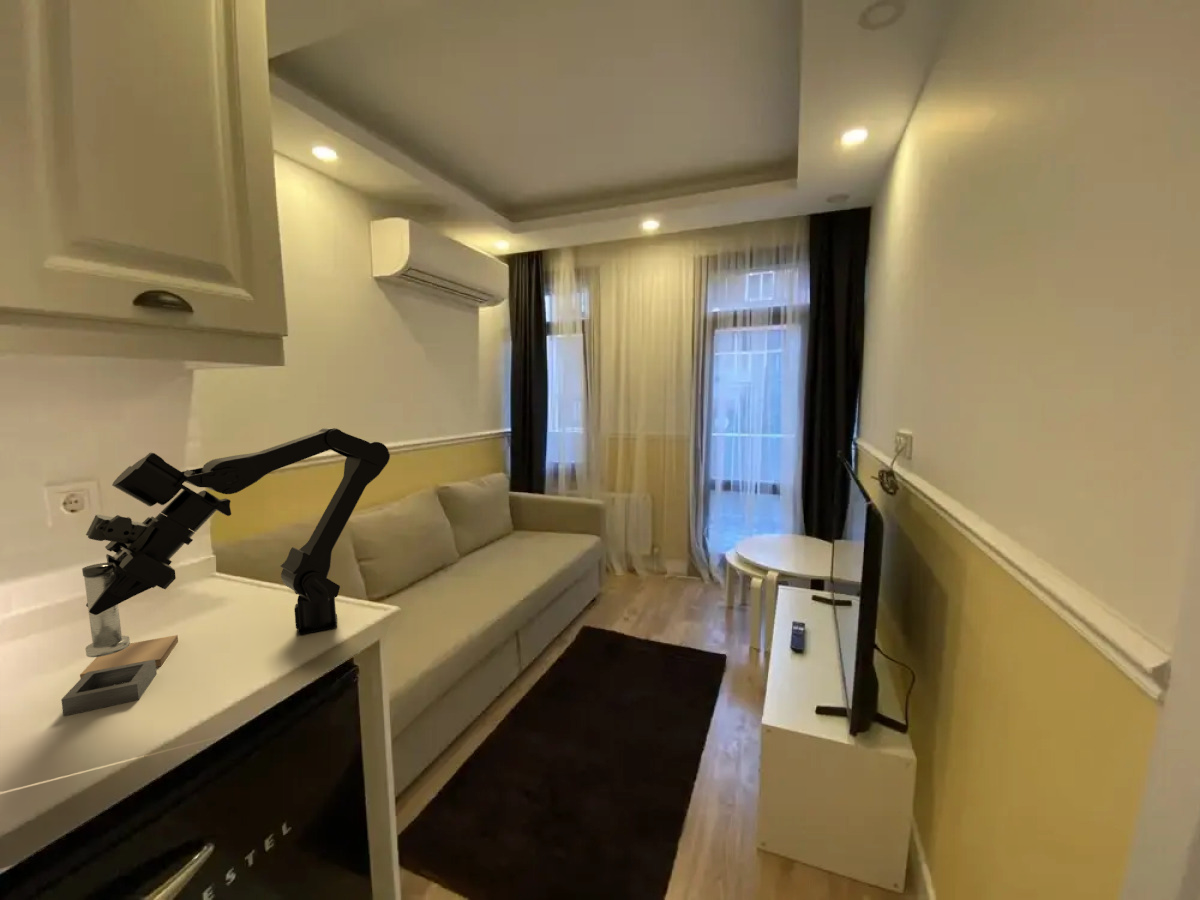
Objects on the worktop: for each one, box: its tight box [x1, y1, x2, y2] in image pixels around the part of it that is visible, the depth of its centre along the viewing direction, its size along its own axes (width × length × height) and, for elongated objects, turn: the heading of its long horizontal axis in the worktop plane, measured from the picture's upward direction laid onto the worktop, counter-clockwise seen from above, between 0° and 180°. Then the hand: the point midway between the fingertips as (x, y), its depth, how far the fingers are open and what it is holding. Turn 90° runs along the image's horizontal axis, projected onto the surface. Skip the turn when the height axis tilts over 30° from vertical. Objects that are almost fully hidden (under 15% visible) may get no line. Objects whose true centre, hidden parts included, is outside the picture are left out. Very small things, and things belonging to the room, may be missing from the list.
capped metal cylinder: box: [81, 562, 131, 658], centre depth 76 cm, size 5×5×13 cm
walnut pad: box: [79, 634, 179, 679], centre depth 87 cm, size 10×10×1 cm
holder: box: [60, 659, 157, 717], centre depth 77 cm, size 8×8×2 cm
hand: (90, 610), depth 75 cm, fingers closed on capped metal cylinder, 3 cm apart
